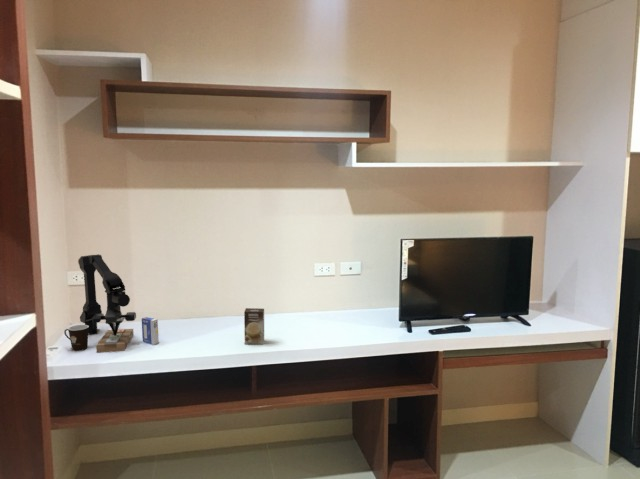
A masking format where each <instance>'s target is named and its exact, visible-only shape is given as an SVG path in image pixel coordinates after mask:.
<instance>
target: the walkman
mask: <svg viewBox="0 0 640 479" xmlns="http://www.w3.org/2000/svg"><path fill="white" fill-rule="evenodd" d="M141 330H142V331H141V332H142V335H141V336H142V342H143V343H145V344H149V345H150V344H151V345H156V344H159V342H160V340H159V339H160V338H159V322H158V318H154V317H153V318H152V317H148V316H146V317H142V318H141Z"/></svg>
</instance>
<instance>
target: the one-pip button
mask: <svg viewBox="0 0 640 479" xmlns="http://www.w3.org/2000/svg"><path fill="white" fill-rule="evenodd" d="M118 341H119V338H110V339H107V341H106V344H107V343H118Z"/></svg>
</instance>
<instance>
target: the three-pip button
mask: <svg viewBox="0 0 640 479" xmlns="http://www.w3.org/2000/svg"><path fill="white" fill-rule="evenodd" d="M121 336H122V333H120V334H117V335H114V334H111V335H110V337H109V339H110V338H121Z"/></svg>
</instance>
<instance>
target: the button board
mask: <svg viewBox="0 0 640 479" xmlns="http://www.w3.org/2000/svg"><path fill="white" fill-rule="evenodd" d="M124 329H125V332H124V333H122V336H121V338H119V341H118V343H107V344H106V341H107V339H109V337H110V335H111V334H112V332H113V331H112V329H107V331H106V332H105V333H104V334H103V336H102V337H101V338H100V340H99V341H98V342H97V343H96V345H95V346H96V353H111V352H113V353H114V352H116V353H117V352H125V351H126V350H127V348H128V346H129V344H130V343H131V341H132V339H133V338H134V334H135V333H134V328H124Z"/></svg>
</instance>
